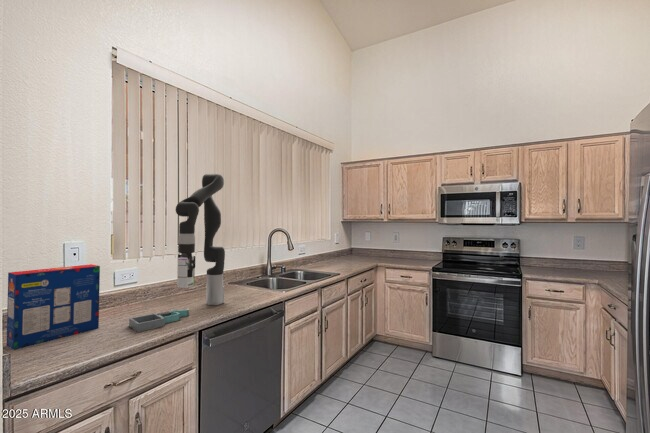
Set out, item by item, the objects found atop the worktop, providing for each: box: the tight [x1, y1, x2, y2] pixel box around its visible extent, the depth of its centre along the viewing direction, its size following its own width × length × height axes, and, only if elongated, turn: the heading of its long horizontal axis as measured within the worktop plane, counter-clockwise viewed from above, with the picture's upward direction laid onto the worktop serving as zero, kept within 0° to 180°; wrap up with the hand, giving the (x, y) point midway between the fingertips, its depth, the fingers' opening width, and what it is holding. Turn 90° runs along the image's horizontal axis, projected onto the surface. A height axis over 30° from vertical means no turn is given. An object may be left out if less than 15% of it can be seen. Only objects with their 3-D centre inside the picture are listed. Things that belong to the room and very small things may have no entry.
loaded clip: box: [170, 307, 190, 318], centre depth 164 cm, size 8×5×3 cm, turn 113°
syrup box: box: [176, 257, 196, 289], centre depth 158 cm, size 6×6×14 cm
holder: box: [128, 312, 165, 333], centre depth 147 cm, size 11×11×4 cm
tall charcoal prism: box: [156, 311, 171, 317], centre depth 160 cm, size 6×3×3 cm, turn 138°
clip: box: [159, 312, 181, 324], centre depth 155 cm, size 8×5×3 cm, turn 138°
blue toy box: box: [6, 263, 101, 351], centre depth 133 cm, size 28×8×28 cm, turn 149°
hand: (185, 276), depth 158 cm, fingers closed on syrup box, 7 cm apart
